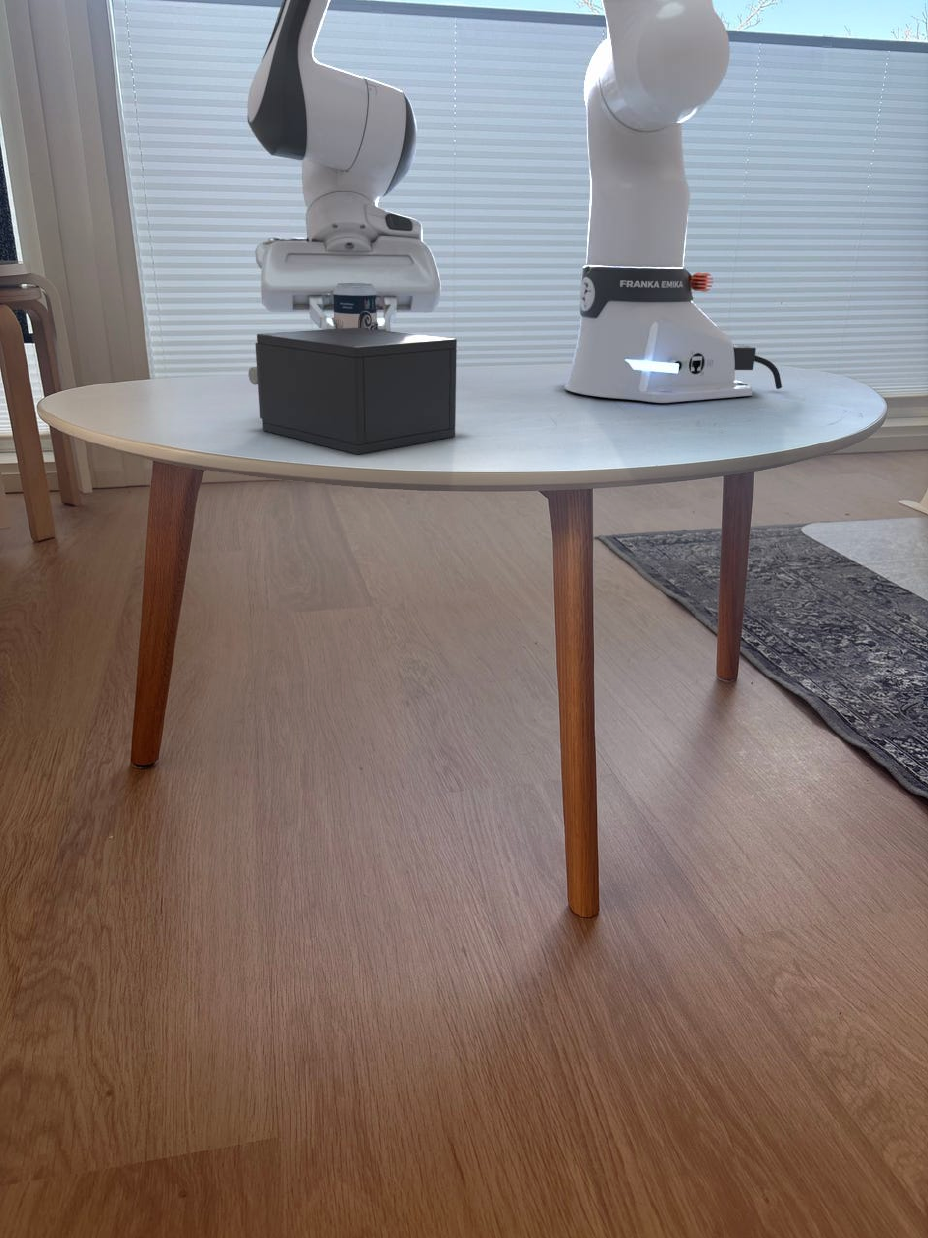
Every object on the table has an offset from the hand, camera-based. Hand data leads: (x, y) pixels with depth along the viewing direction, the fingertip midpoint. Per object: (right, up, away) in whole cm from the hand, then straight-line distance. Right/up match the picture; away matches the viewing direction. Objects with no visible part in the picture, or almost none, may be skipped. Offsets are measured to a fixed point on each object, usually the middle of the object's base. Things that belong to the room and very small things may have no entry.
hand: (356, 335), depth 103 cm
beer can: (0, -6, +3) cm, 7 cm away
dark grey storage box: (+2, -14, -18) cm, 23 cm away
